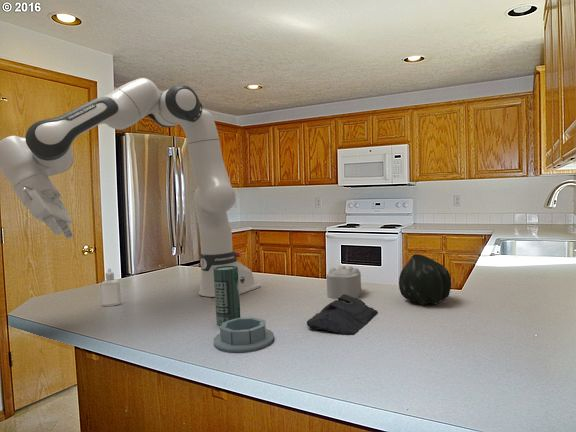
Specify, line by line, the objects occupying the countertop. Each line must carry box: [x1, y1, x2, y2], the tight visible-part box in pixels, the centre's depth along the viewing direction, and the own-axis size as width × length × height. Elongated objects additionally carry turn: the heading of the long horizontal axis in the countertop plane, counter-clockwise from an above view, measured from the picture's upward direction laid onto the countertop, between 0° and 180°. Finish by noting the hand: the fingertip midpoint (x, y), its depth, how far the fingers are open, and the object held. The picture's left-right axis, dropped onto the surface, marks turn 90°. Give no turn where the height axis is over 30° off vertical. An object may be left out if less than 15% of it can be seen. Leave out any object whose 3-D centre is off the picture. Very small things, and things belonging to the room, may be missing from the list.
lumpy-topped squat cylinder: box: [326, 265, 362, 300], centre depth 135 cm, size 10×13×9 cm
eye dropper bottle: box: [100, 268, 122, 307], centre depth 136 cm, size 4×6×12 cm
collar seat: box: [213, 316, 275, 354], centre depth 97 cm, size 14×14×4 cm
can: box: [213, 266, 242, 327], centre depth 110 cm, size 6×6×15 cm
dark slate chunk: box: [306, 294, 379, 336], centre depth 109 cm, size 15×22×5 cm
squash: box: [398, 253, 452, 306], centre depth 122 cm, size 14×15×15 cm
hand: (65, 235), depth 110 cm, fingers open, 8 cm apart
